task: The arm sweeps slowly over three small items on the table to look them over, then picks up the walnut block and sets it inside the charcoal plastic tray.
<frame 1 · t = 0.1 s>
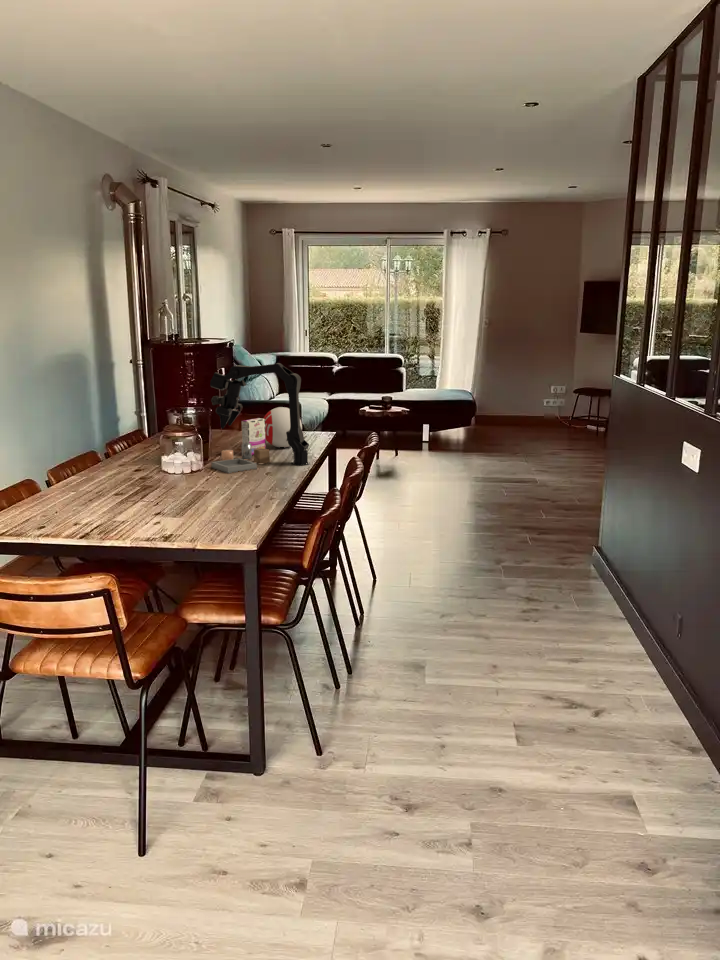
hand: (225, 426, 331), 15 cm above the table, tool pointing down, fingers open, 9 cm apart
tan block: (227, 461, 332), on the table
charcoal tray: (234, 468, 318), on the table
candy bar box: (254, 454, 350), on the table
decorative sphere: (282, 447, 367), on the table
steel cylinder: (246, 459, 338), on the table
walnut block: (261, 462, 331), on the table
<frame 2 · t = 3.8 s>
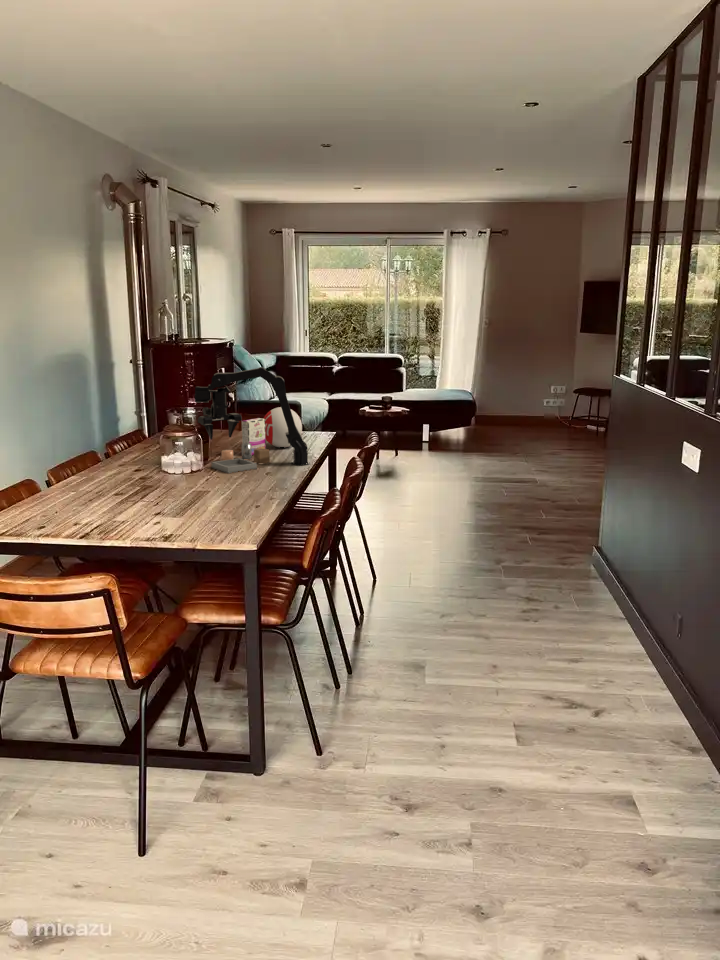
hand: (220, 438, 322), 12 cm above the table, tool pointing down, fingers open, 9 cm apart
nothing on the table moved.
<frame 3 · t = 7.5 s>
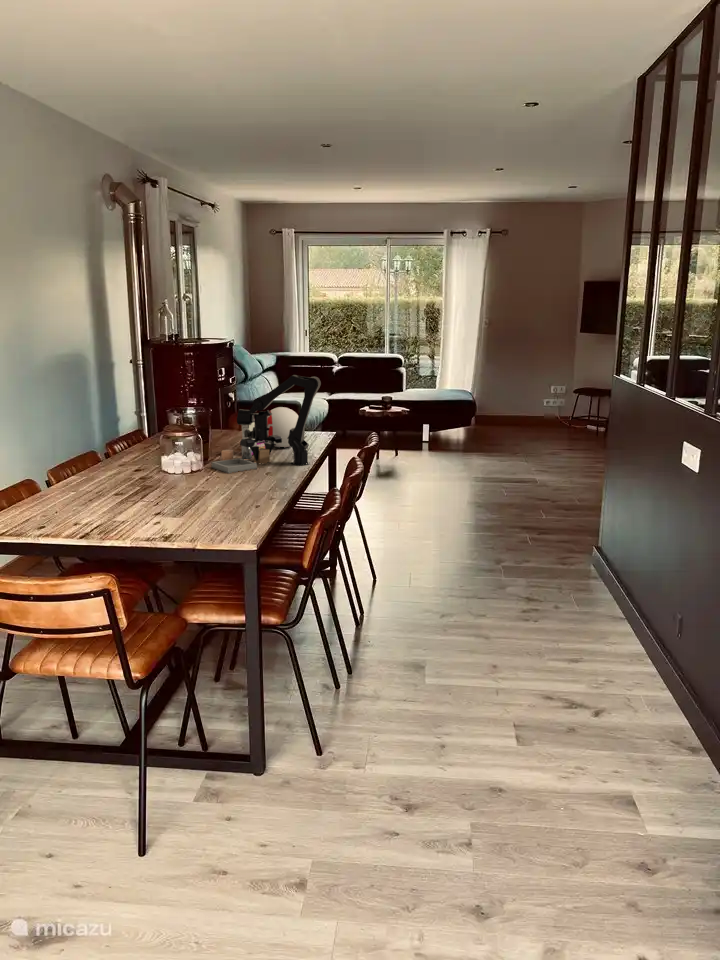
hand: (261, 459, 330), 1 cm above the table, tool pointing down, fingers closed on walnut block, 5 cm apart
walnut block: (261, 462, 331), on the table, touching gripper
everything else where it was.
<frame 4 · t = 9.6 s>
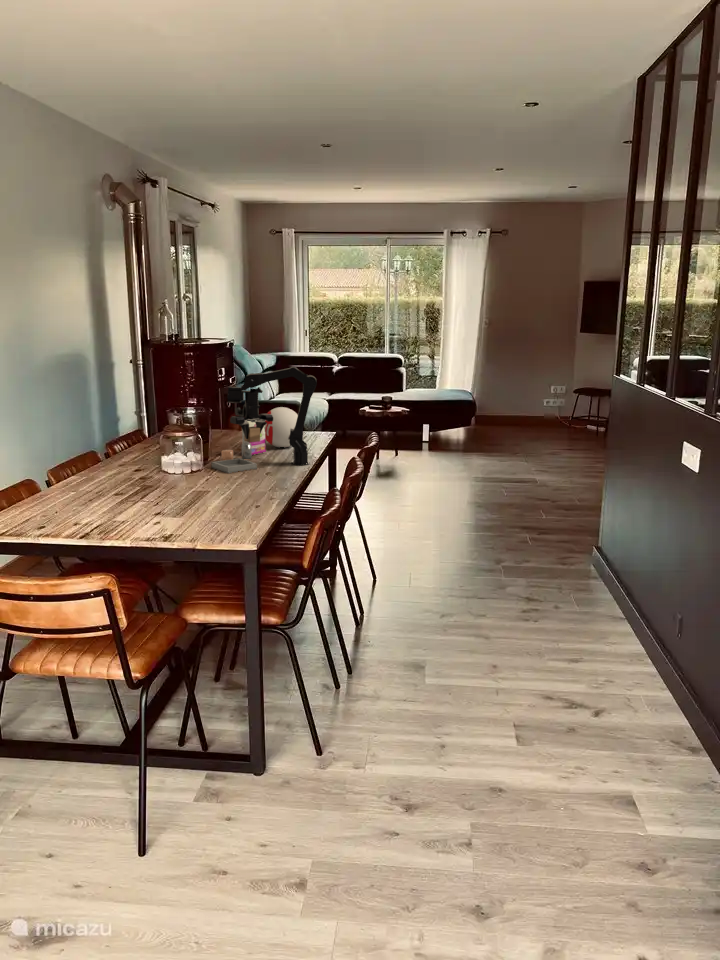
hand: (252, 438, 324), 12 cm above the table, tool pointing down, fingers closed on walnut block, 5 cm apart
walnut block: (252, 441, 325), point 10 cm above the table, touching gripper
everything else where it was.
when the fingers open (3 cm above the table, at t = 12.1 s): walnut block drops 1 cm, resting on charcoal tray.
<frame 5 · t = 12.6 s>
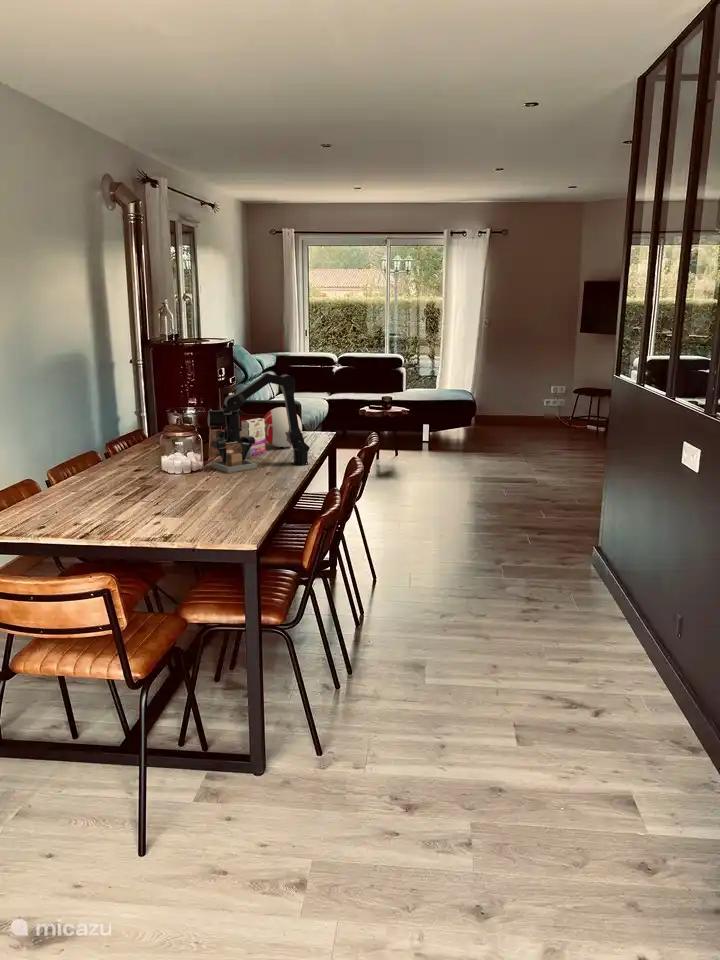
hand: (234, 461, 318), 3 cm above the table, tool pointing down, fingers open, 9 cm apart
walnut block: (234, 467, 318), resting on charcoal tray
everything else where it was.
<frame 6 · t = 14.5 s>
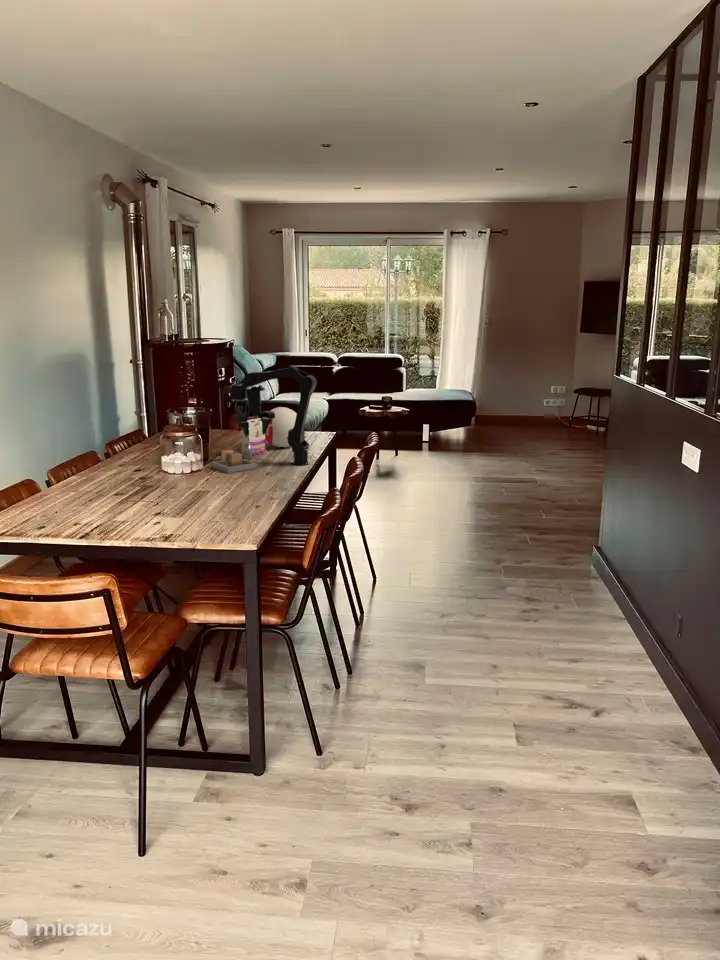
hand: (255, 435, 330), 12 cm above the table, tool pointing down, fingers open, 9 cm apart
nothing on the table moved.
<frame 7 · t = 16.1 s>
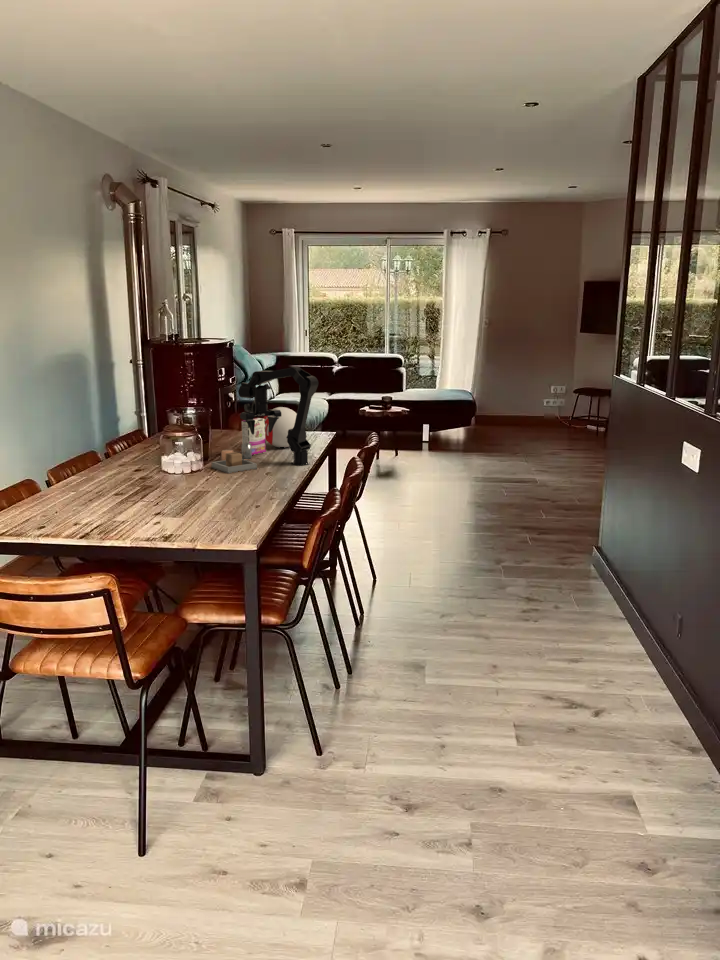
hand: (261, 433, 335), 12 cm above the table, tool pointing down, fingers open, 9 cm apart
nothing on the table moved.
at the end: walnut block inside the target area on the charcoal tray (0.1 cm from its centre), point 0.5 cm above the charcoal tray's base; walnut block tilted 0°; steel cylinder moved 0.0 cm from its start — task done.
